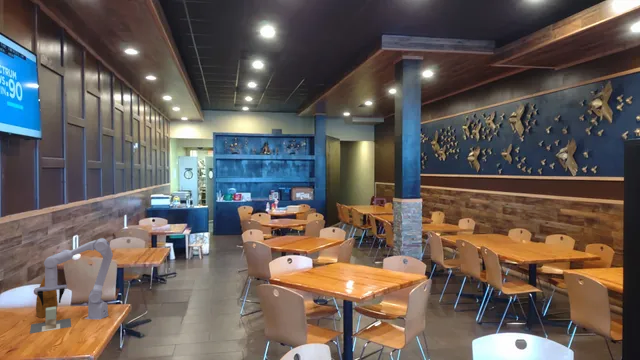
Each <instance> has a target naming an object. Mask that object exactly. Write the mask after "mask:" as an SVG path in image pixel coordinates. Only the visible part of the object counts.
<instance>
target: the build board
mask: <svg viewBox="0 0 640 360" xmlns="http://www.w3.org/2000/svg"><path fill="white" fill-rule="evenodd" d="M71 327H72V319H71V318H65V319H64V318H63V319H56V328H53V329H47V330H46V321H44V322H39V323H38V322H36V323H31V324H30V330H29V334H31V335H32V334H36V333H43V332H49V331H55V330H62V329H66V328H67V329H68V328H71Z"/></svg>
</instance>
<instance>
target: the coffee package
mask: <svg viewBox="0 0 640 360" xmlns="http://www.w3.org/2000/svg"><path fill="white" fill-rule="evenodd" d="M41 287H45V275H44V276H43V278H42V280H41V283H40V285H39V287H38V288H41ZM43 302H44V305H42V303H41V300H40V298H39V296H38V294H37V295H36V300H35V314H36V317H38V318H40V319H43V318H46V308H49V307H56V315H57V314H58V312H57V310H58V305H59V301H58V290H51V291H43Z"/></svg>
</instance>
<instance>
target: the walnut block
mask: <svg viewBox="0 0 640 360" xmlns="http://www.w3.org/2000/svg"><path fill="white" fill-rule="evenodd" d="M56 320H57V318H56V319H50V320H46V319H45V322H46V330H47V329H53V328H56Z"/></svg>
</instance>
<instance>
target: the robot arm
mask: <svg viewBox="0 0 640 360" xmlns="http://www.w3.org/2000/svg"><path fill="white" fill-rule="evenodd" d="M94 250H95V251H96V252H98V253H99V254H100V255H101V256H102V261H101V264H100V267H99V270H98V273H97V276H96V279H95V281H94V285H93V288H92V289H91V290H90V292H89V295H88V302H87V303H88V305H87V310H88V311H87V313H88V314H87V316H86V317H84V319H85V320H102V319H105V318H107V317H108V316H109V305H108V303H107V302H105V301H104V299H103V298H102V295H103V288H104V284H105V282H106V277H107V274H108V272H109V269H110V266H111V262H112V259H113V256H114V253H113V250H112V247H111V245H110V242H109V241H108V240H107V239H105V238H103V237H101V238H98V239H94V240H91V241H89V242H86V243H83V244H82V245H80V246H78V247H75V248H74V249H73V248H72V249H71V250H70V249H62V250H61V252H59V253H56V254H55V253H54V254H52V255H50V256H48V257H46V258H45V260H44V262H43V266H44V267H45V268H44V276H45V287H41V288H39V287H36V288H34V293H35V294H37V295H38V296H39V298H40V300H41V303H42V305H44V302H43V291H51V290H57V291H58V293H59V294H58V304H61V301H62V299H63V298H62V297H63V294H64V292H65V291H66V290H67V289H68V284H58V265H60V264H63V263H66V262H68V261H70V260H72V259H73V257H74V256H76V255H79V254H82V253H83V252H87V251H92V252H93V251H94Z"/></svg>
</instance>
